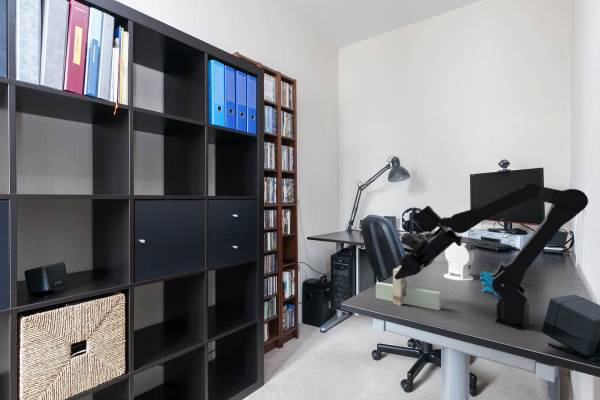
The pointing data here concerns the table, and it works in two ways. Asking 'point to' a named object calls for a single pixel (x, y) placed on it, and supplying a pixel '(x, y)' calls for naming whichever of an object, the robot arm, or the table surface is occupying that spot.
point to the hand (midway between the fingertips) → (400, 275)
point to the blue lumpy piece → (487, 282)
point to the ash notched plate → (398, 287)
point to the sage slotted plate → (411, 296)
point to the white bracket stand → (459, 261)
